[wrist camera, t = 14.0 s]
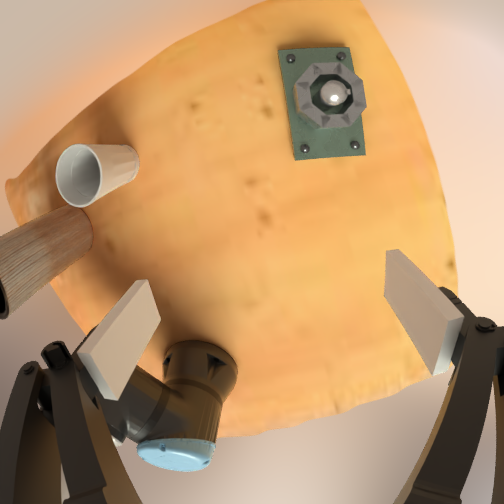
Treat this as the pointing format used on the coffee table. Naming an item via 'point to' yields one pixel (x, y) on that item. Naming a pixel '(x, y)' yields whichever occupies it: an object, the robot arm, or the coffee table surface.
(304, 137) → the shaft stand
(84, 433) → the robot arm
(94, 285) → the coffee table surface
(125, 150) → the cup
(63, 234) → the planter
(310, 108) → the ring
